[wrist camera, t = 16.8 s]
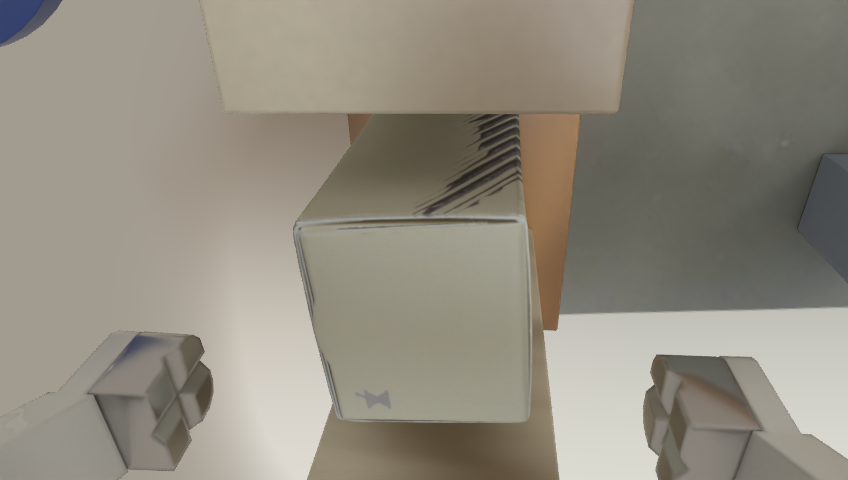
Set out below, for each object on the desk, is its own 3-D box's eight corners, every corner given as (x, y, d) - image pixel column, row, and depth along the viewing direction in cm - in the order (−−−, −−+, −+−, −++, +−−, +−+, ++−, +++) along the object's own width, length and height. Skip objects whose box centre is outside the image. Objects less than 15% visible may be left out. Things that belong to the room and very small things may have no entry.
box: (518, 184, 23) (537, 440, 12) (411, 189, 23) (334, 436, 12) (515, 50, 20) (536, 216, 9) (395, 60, 21) (279, 226, 10)
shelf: (415, 174, 43) (280, 605, 16) (401, -142, 33) (-17, -376, 6) (535, 176, 42) (601, 640, 15) (558, -150, 32) (873, -472, 5)
